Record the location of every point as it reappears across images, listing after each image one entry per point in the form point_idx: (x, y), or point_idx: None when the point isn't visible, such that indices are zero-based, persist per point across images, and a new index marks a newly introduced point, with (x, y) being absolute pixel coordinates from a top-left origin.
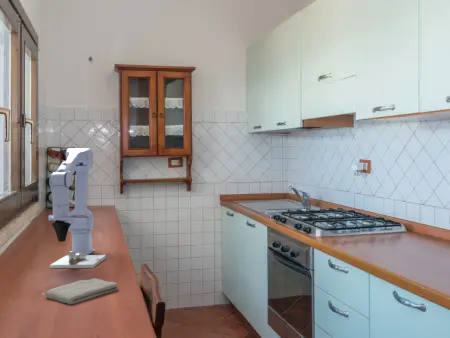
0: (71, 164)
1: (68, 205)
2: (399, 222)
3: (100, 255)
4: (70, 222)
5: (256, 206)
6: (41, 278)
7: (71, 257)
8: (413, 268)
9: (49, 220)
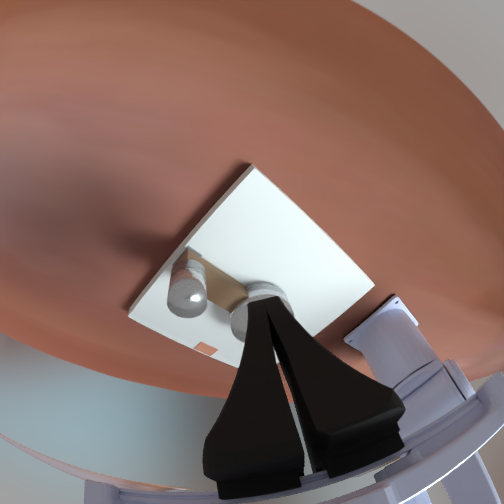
0: None
1: None
2: None
3: None
4: (85, 488)
5: None
6: (74, 83)
7: (171, 276)
8: (23, 448)
9: (488, 381)
